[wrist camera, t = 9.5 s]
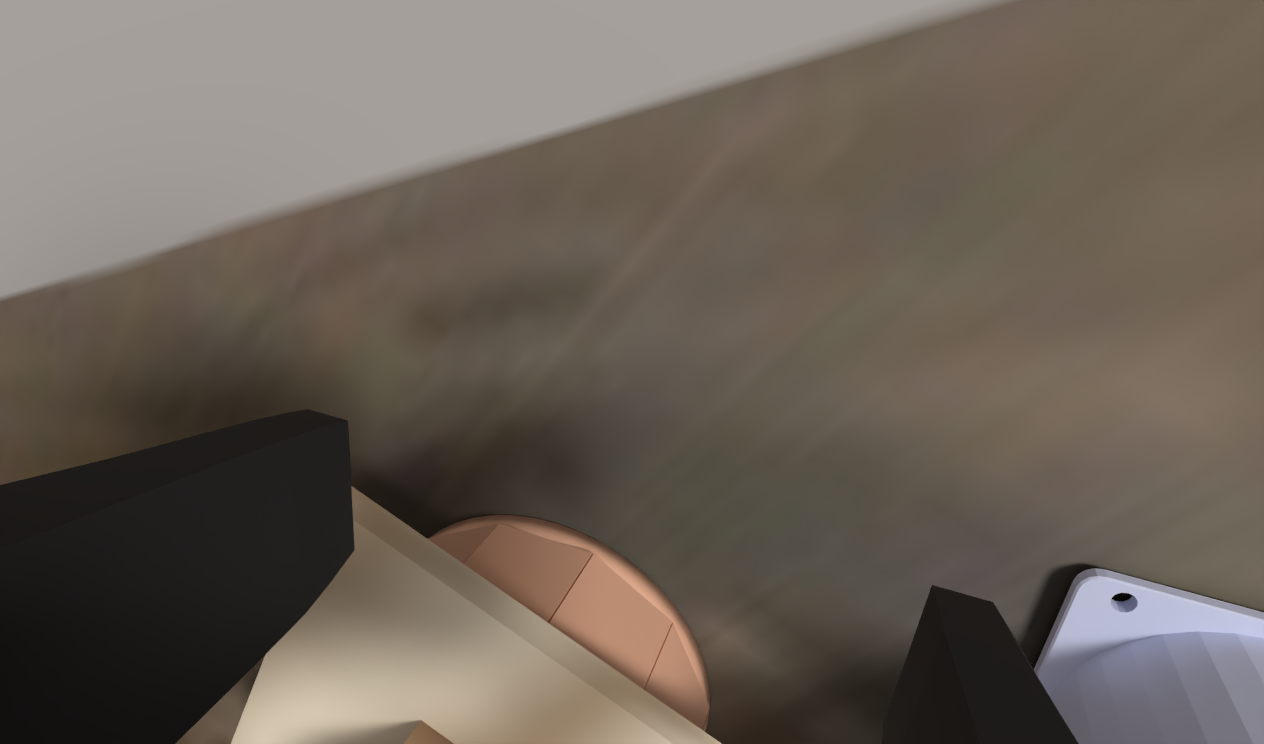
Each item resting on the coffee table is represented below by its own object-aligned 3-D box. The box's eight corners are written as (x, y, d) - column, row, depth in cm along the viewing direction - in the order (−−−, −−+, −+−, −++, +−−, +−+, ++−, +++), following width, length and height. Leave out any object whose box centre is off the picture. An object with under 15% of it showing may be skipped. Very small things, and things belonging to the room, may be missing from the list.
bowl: (739, 579, 21) (698, 698, 17) (682, 839, 26) (640, 981, 22) (394, 473, 24) (292, 556, 20) (398, 725, 29) (315, 833, 25)
